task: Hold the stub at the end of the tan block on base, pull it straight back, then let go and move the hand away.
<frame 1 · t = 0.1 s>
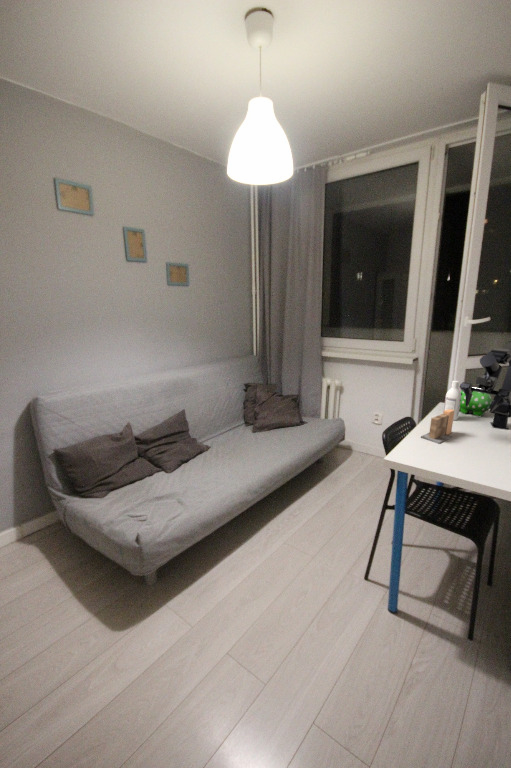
hand: (478, 409, 148), 15 cm above the table, tool tilted 35°, fingers open, 9 cm apart
piggy bank: (470, 413, 190), on the table
stub: (447, 422, 159), point 6 cm above the table, slide at 0.0 cm
tan block on base: (436, 437, 155), on the table
bath foam: (449, 418, 181), on the table
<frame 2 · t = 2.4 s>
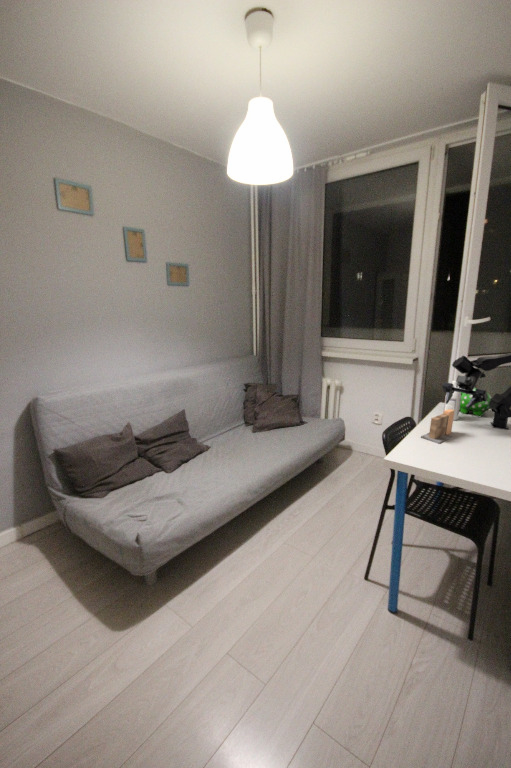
hand: (456, 405, 161), 12 cm above the table, tool tilted 45°, fingers open, 9 cm apart
nothing on the table moved.
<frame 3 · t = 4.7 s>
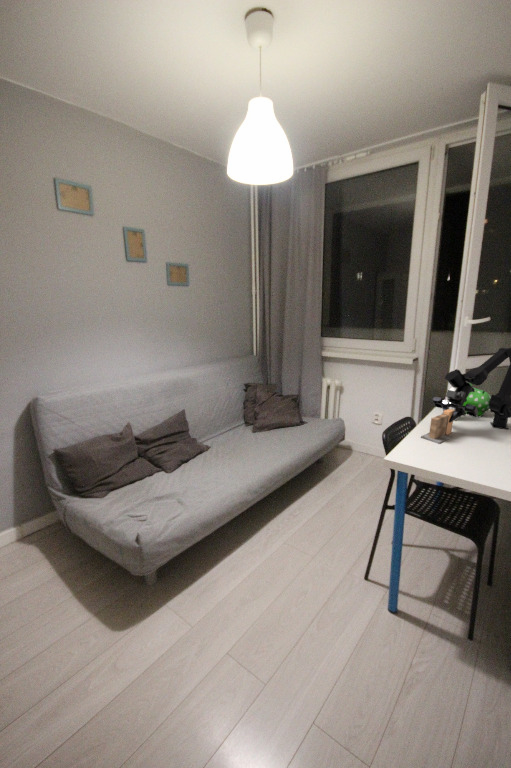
hand: (446, 421, 158), 7 cm above the table, tool tilted 45°, fingers closed on stub, 2 cm apart
stub: (447, 422, 159), point 6 cm above the table, slide at 0.0 cm, touching gripper
everything else where it was.
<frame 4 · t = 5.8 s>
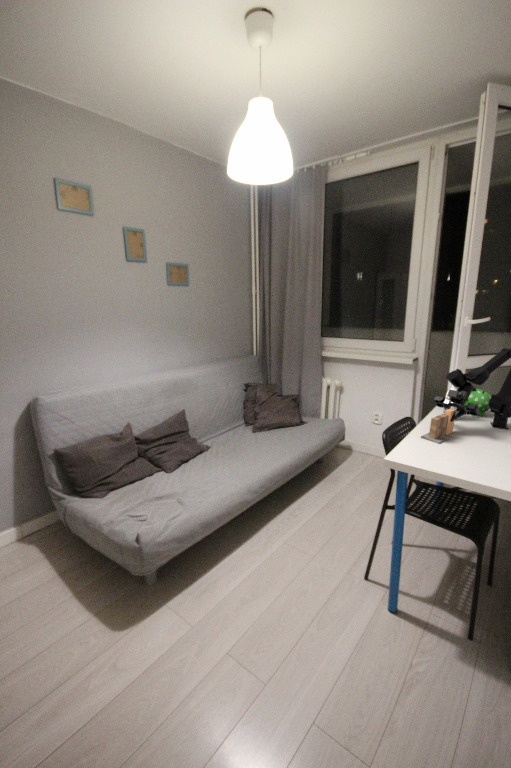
hand: (447, 420, 159), 7 cm above the table, tool tilted 45°, fingers closed on stub, 2 cm apart
stub: (448, 421, 160), point 6 cm above the table, slide at 1.5 cm, touching gripper
everything else where it was.
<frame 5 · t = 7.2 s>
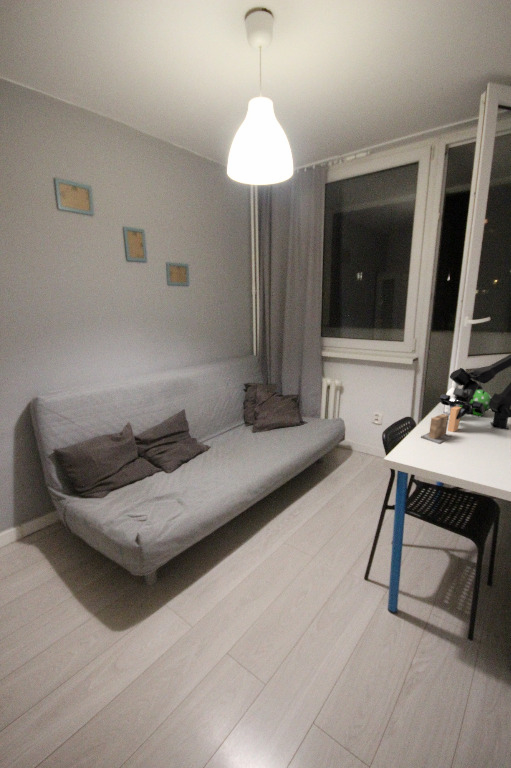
hand: (453, 418, 162), 7 cm above the table, tool tilted 45°, fingers closed on stub, 2 cm apart
stub: (454, 419, 163), point 6 cm above the table, slide at 7.0 cm, touching gripper
everything else where it was.
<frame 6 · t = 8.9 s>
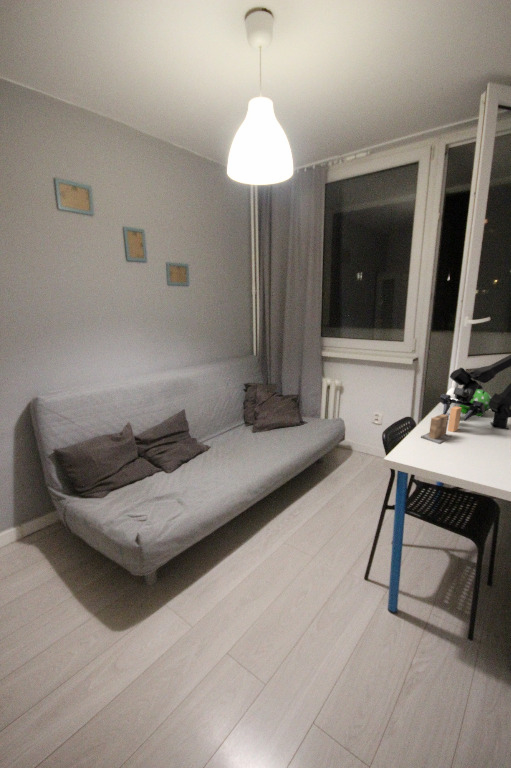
hand: (453, 417, 162), 7 cm above the table, tool tilted 45°, fingers open, 9 cm apart
stub: (454, 419, 163), point 6 cm above the table, slide at 7.0 cm
everything else where it was.
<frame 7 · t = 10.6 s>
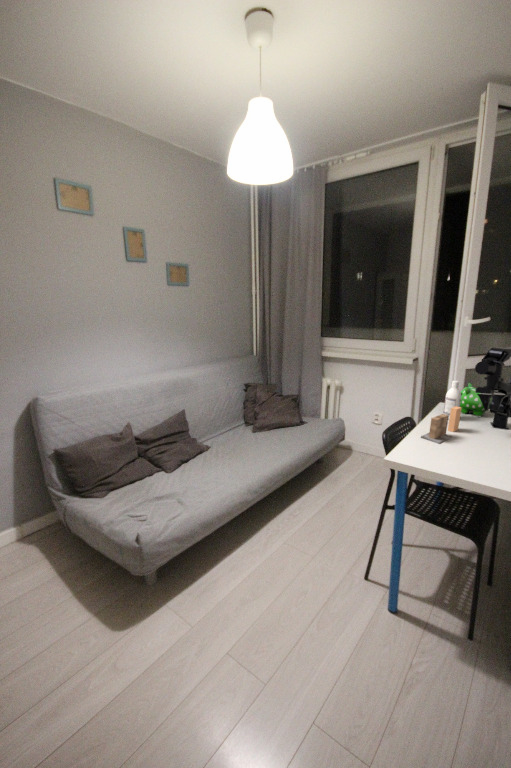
hand: (491, 409, 158), 12 cm above the table, tool pointing down, fingers open, 9 cm apart
nothing on the table moved.
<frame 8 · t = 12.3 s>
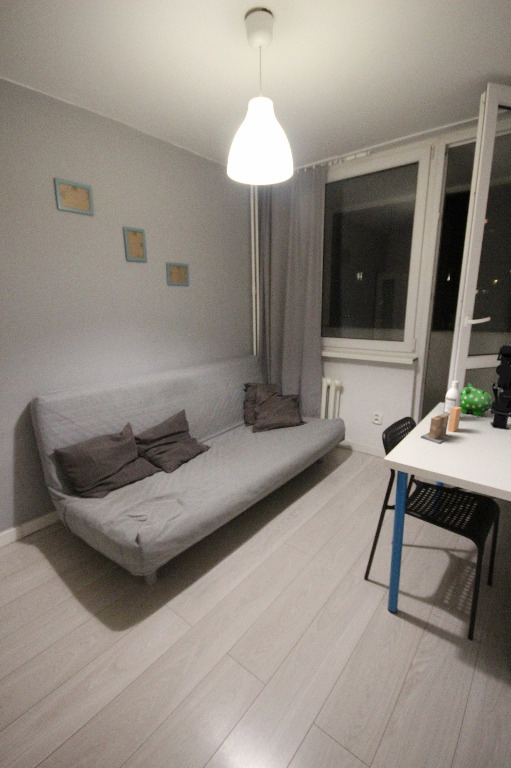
hand: (499, 406, 158), 13 cm above the table, tool pointing down, fingers open, 9 cm apart
nothing on the table moved.
at the end: stub slide at 7.0 cm; the gripper is holding nothing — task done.
